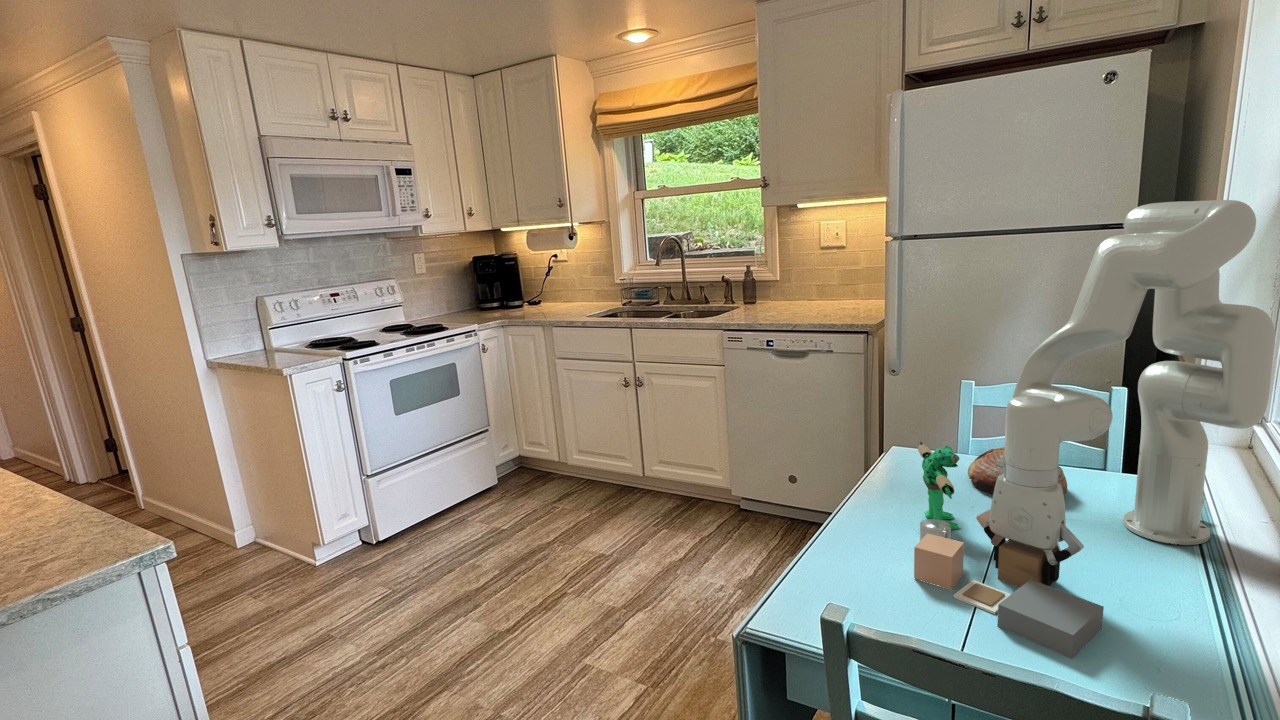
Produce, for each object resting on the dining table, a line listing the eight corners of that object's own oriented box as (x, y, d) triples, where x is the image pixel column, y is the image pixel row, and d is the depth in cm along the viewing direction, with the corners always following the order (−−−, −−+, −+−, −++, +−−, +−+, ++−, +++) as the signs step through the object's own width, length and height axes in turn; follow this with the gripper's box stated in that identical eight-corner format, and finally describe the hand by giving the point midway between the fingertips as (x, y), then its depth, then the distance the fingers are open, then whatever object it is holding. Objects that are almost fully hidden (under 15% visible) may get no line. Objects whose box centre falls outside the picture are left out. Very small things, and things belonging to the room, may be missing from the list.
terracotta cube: (926, 564, 117) (927, 533, 116) (962, 574, 113) (963, 542, 112) (914, 579, 113) (914, 547, 112) (951, 590, 109) (951, 557, 108)
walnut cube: (1014, 566, 115) (1015, 534, 114) (1052, 579, 110) (1054, 546, 109) (997, 579, 111) (999, 546, 110) (1036, 593, 107) (1038, 559, 105)
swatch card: (973, 582, 111) (973, 578, 111) (1014, 597, 106) (1014, 593, 106) (953, 597, 107) (953, 593, 107) (994, 614, 102) (994, 610, 102)
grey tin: (928, 546, 123) (929, 516, 122) (955, 555, 119) (956, 524, 118) (914, 556, 120) (914, 525, 119) (940, 566, 117) (941, 534, 115)
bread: (1055, 516, 133) (1057, 470, 131) (954, 492, 147) (954, 450, 145) (1078, 485, 144) (1080, 442, 142) (981, 465, 158) (982, 426, 156)
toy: (976, 554, 119) (978, 476, 116) (937, 553, 121) (939, 475, 118) (942, 495, 144) (943, 429, 141) (910, 494, 145) (911, 429, 142)
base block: (1029, 602, 105) (1030, 579, 104) (1101, 631, 97) (1103, 606, 96) (997, 628, 99) (998, 604, 98) (1071, 661, 91) (1073, 635, 90)
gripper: (964, 466, 112) (961, 563, 115) (1082, 495, 98) (1074, 604, 102) (986, 454, 116) (982, 548, 120) (1101, 480, 102) (1093, 585, 106)
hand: (1024, 573), depth 111 cm, fingers open, 6 cm apart
